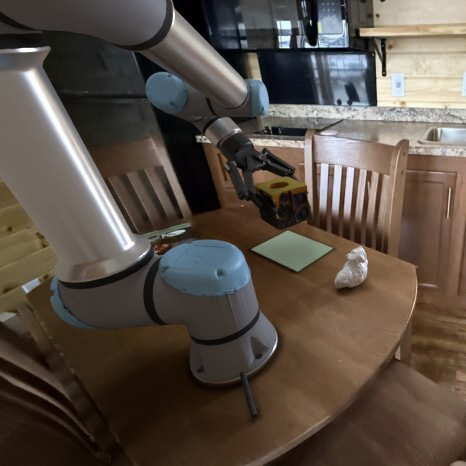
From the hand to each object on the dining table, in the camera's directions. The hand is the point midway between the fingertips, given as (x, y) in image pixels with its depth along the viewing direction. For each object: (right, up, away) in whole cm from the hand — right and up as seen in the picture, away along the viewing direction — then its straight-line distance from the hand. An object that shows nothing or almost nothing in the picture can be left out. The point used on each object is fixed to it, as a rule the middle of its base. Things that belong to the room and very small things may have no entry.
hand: (291, 205), depth 82 cm
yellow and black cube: (-2, -4, +3) cm, 5 cm away
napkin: (-4, -12, +12) cm, 18 cm away
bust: (+17, -20, -1) cm, 26 cm away
